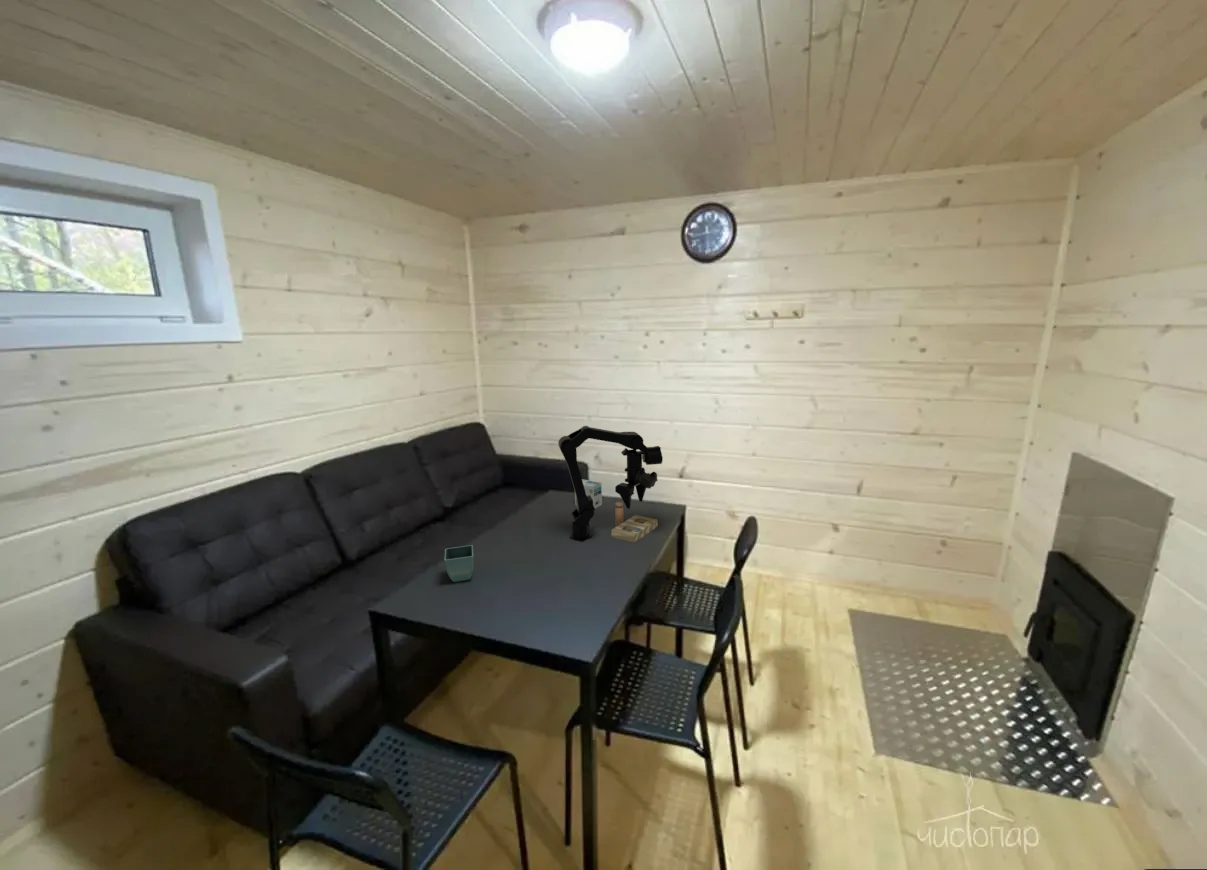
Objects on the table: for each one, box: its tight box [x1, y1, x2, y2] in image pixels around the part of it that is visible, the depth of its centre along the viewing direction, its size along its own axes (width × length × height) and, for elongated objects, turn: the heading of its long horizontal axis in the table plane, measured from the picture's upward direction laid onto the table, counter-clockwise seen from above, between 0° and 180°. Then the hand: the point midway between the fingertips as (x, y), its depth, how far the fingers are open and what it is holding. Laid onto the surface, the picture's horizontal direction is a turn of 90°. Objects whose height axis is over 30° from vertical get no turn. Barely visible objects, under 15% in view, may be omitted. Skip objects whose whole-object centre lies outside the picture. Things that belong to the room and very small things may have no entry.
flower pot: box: [443, 544, 474, 583], centre depth 163 cm, size 9×9×9 cm
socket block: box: [611, 514, 659, 544], centre depth 197 cm, size 18×10×3 cm, turn 146°
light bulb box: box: [574, 478, 603, 509], centre depth 226 cm, size 11×7×11 cm, turn 58°
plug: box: [614, 501, 625, 527], centre depth 204 cm, size 3×3×9 cm
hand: (634, 504), depth 195 cm, fingers open, 9 cm apart
